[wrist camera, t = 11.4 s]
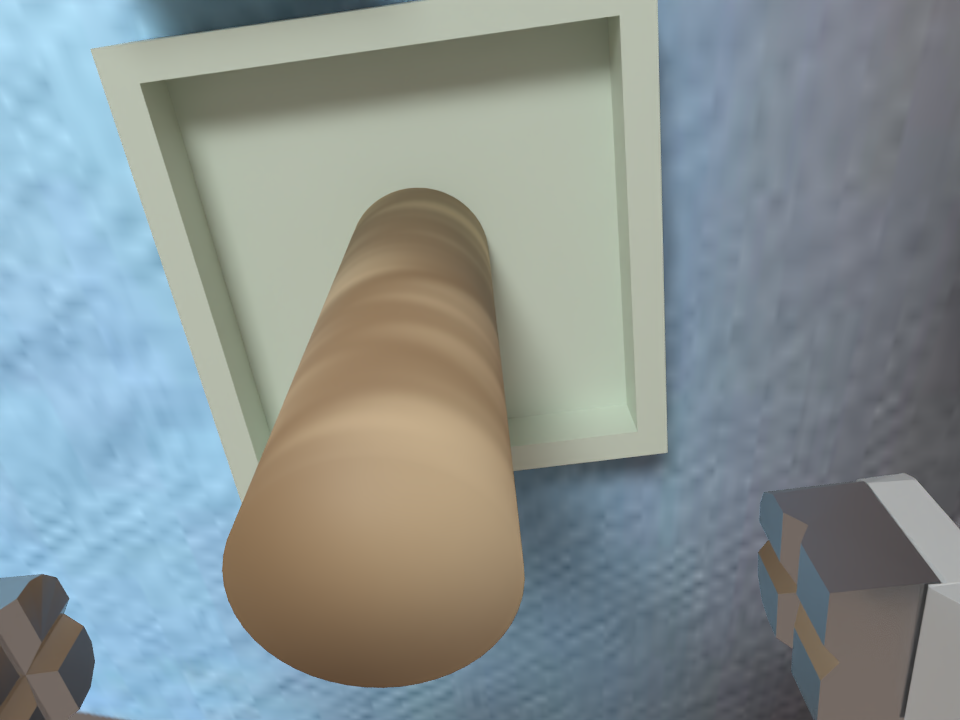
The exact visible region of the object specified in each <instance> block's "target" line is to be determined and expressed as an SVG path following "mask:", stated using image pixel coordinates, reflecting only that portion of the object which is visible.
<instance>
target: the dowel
mask: <svg viewBox="0 0 960 720" xmlns="http://www.w3.org/2000/svg"><path fill="white" fill-rule="evenodd" d="M222 572H223V581H224V587H225V591H226V594H227V598H228V601H229V603H230V605H231V607H232V609H233V612H234V614H235V615H236V617H237V618H238V620H239V621H240V623H241V625H242V626H243V628H244V629H245V630H246V631H247V632H248V633H249V634H250V636H251V637H252V638H253V639H254V640H255V641H256V642H257V643H258V644H260V645H261V646H262V647H263V648H264V649H265V650H266V651H268V652H269V653H270V654H272V655H273V656H275V657H276V658H278V659H279V660H280V661H282V662H284V663H286V664H288V665H289V666H291V667H293V668H295V669H297V670H299V671H302V672H304V673H306V674H309V675H311V676H314V677H317V678H320V679H324V680H327V681H330V682H335V683H340V684H344V685H351V686H359V687H377V688H386V687H401V686H407V685H414V684H419V683H423V682H427V681H431V680H435V679H438V678H440V677H443V676H446V675H449V674H451V673H453V672H455V671H457V670H459V669H461V668H463V667H465V666H467V665H469V664H470V663H472V662H474V661H475V660H477V659H478V658H480V657H481V656H482V655H484V654H485V653H486V652H487V651H488V650H490V649H491V648H492V647H493V646H494V645H495V644H496V643H497V642H498V641H499V640H500V638H501V637H502V636H503V635H504V634H505V632H506V631H507V629H508V628H509V626H510V625H511V624H512V622H513V620H514V618H515V616H516V614H517V611H518V609H519V606H520V603H521V599H522V596H523V589H524V581H525V579H524V562H523V553H522V544H521V535H520V526H519V517H518V509H517V500H516V491H515V482H514V473H513V464H512V455H511V446H510V437H509V428H508V419H507V410H506V401H505V392H504V383H503V374H502V365H501V356H500V347H499V338H498V329H497V321H496V312H495V303H494V294H493V285H492V276H491V267H490V258H489V249H488V243H487V238H486V235H485V232H484V230H483V228H482V226H481V224H480V222H479V221H478V219H477V218H476V216H475V215H474V214H473V212H472V211H471V210H470V209H469V208H468V207H467V206H466V205H464V204H463V203H462V202H461V201H459V200H458V199H456V198H455V197H453V196H451V195H449V194H446V193H444V192H441V191H438V190H434V189H429V188H407V189H402V190H398V191H395V192H392V193H390V194H388V195H386V196H384V197H382V198H380V199H379V200H377V201H376V202H375V203H373V204H372V205H371V206H370V207H369V208H368V209H367V210H366V212H365V213H364V214H363V215H362V217H361V218H360V220H359V222H358V223H357V226H356V228H355V230H354V233H353V235H352V238H351V240H350V242H349V245H348V247H347V250H346V252H345V255H344V257H343V259H342V262H341V264H340V267H339V269H338V272H337V274H336V276H335V279H334V281H333V284H332V286H331V289H330V291H329V293H328V296H327V298H326V301H325V303H324V306H323V308H322V310H321V313H320V315H319V318H318V320H317V323H316V325H315V327H314V330H313V332H312V335H311V337H310V340H309V342H308V344H307V347H306V349H305V352H304V354H303V357H302V359H301V361H300V364H299V366H298V369H297V371H296V374H295V376H294V378H293V381H292V383H291V386H290V388H289V391H288V393H287V395H286V398H285V400H284V403H283V405H282V408H281V410H280V413H279V415H278V417H277V420H276V422H275V425H274V427H273V430H272V432H271V434H270V437H269V439H268V442H267V444H266V447H265V449H264V451H263V454H262V456H261V459H260V461H259V464H258V466H257V468H256V471H255V473H254V476H253V478H252V481H251V483H250V485H249V488H248V490H247V493H246V495H245V498H244V500H243V502H242V505H241V507H240V510H239V512H238V515H237V517H236V519H235V522H234V524H233V527H232V529H231V532H230V534H229V536H228V539H227V542H226V546H225V550H224V554H223V568H222Z"/></svg>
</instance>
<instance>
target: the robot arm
mask: <svg viewBox="0 0 960 720" xmlns="http://www.w3.org/2000/svg"><path fill="white" fill-rule="evenodd" d="M759 521H760V523H761V525H762V527H763V529H764V531H765V533H766V535H767V537H768V539H769V540H768V541H767V542H766V544H765V545H764V546H763V547H762V548H761V549H760V551H759V552H758V578H759V585H760V591H761V597H762V602H763V605H764V608H765V611H766V614H767V618H768V620H769V622H770V625H771V627H772V629H773V632H774V634H775V636H776V638H778V639H779V640H781V641H782V642H783V643H785V644H786V645H788V646H789V647H791V648H792V649H793V652H792V668H791V672H792V674H793V676H794V678H795V680H796V683H797V685H798V687H799V689H800V691H801V693H802V696H803V698H804V700H805V702H806V704H807V706H808V709H809V711H810V713H811V715H812V717H813V719H814V720H960V529H959V528H958V527H957V525H956V524H955V523H954V522H953V521H952V520H951V519H950V518H949V516H948V515H947V514H946V513H945V512H944V511H943V510H942V508H941V507H940V506H939V505H938V504H937V503H936V502H935V501H934V499H933V498H932V497H931V496H930V495H929V494H928V493H927V491H926V490H925V489H924V488H923V487H922V486H921V485H920V483H919V482H918V481H917V480H916V479H915V478H914V477H912V476H910V475H907V474H905V473H901V474H894V475H887V476H879V477H872V478H865V479H858V480H857V481H851V482H843V483H834V484H826V485H818V486H809V487H801V488H793V489H784V490H776V491H768V492H764V493H763V496H762V499H761V502H760V518H759ZM68 601H69V597H68V596H67V594H66V592H65V591H64V589H63V587H62V586H61V584H60V582H59V580H58V579H57V578H56V577H52V576H48V575H44V574H38V575H27V576H16V577H5V578H0V720H68V719H69V718H70V717H71V716H72V715H73V714H75V713H76V712H77V711H78V710H79V709H80V707H81V705H82V703H83V701H84V699H85V697H86V695H87V693H88V691H89V689H90V687H91V682H92V676H93V669H94V663H95V659H94V653H93V647H92V642H91V640H90V638H89V636H88V634H87V632H86V630H85V628H84V626H82V625H81V624H79V623H78V622H76V621H75V620H73V619H71V618H70V617H68V616H67V615H65V614H64V612H65V609H66V606H67V603H68Z"/></svg>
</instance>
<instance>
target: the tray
mask: <svg viewBox="0 0 960 720" xmlns="http://www.w3.org/2000/svg"><path fill="white" fill-rule="evenodd" d="M91 52H92V55H93V58H94V61H95V64H96V67H97V70H98V73H99V76H100V79H101V82H102V85H103V88H104V91H105V94H106V97H107V100H108V103H109V106H110V109H111V112H112V115H113V118H114V121H115V124H116V127H117V130H118V133H119V136H120V139H121V142H122V145H123V148H124V151H125V154H126V157H127V160H128V163H129V166H130V169H131V172H132V175H133V178H134V181H135V184H136V187H137V190H138V193H139V196H140V199H141V202H142V205H143V208H144V211H145V214H146V217H147V220H148V223H149V226H150V229H151V232H152V235H153V238H154V241H155V244H156V247H157V250H158V253H159V256H160V259H161V262H162V265H163V268H164V271H165V274H166V277H167V280H168V283H169V286H170V289H171V292H172V295H173V298H174V301H175V304H176V307H177V310H178V313H179V316H180V319H181V322H182V325H183V328H184V331H185V334H186V337H187V340H188V343H189V346H190V349H191V352H192V355H193V358H194V361H195V364H196V367H197V370H198V373H199V376H200V379H201V382H202V385H203V388H204V391H205V394H206V397H207V400H208V403H209V406H210V409H211V412H212V415H213V418H214V421H215V424H216V427H217V430H218V433H219V436H220V439H221V442H222V445H223V448H224V451H225V454H226V457H227V460H228V463H229V466H230V469H231V472H232V475H233V478H234V481H235V484H236V487H237V490H238V493H239V496H240V499H241V502H243V500H244V498H245V495H246V493H247V490H248V488H249V485H250V483H251V481H252V478H253V476H254V473H255V471H256V468H257V466H258V464H259V461H260V459H261V456H262V454H263V451H264V449H265V447H266V444H267V442H268V439H269V437H270V434H271V432H272V430H273V427H274V425H275V422H276V420H277V417H278V415H279V413H280V410H281V408H282V405H283V403H284V400H285V398H286V395H287V393H288V391H289V388H290V386H291V383H292V381H293V378H294V376H295V374H296V371H297V369H298V366H299V364H300V361H301V359H302V357H303V354H304V352H305V349H306V347H307V344H308V342H309V340H310V337H311V335H312V332H313V330H314V327H315V325H316V323H317V320H318V318H319V315H320V313H321V310H322V308H323V306H324V303H325V301H326V298H327V296H328V293H329V291H330V289H331V286H332V284H333V281H334V279H335V276H336V274H337V272H338V269H339V267H340V264H341V262H342V259H343V257H344V255H345V252H346V250H347V247H348V245H349V242H350V240H351V238H352V235H353V233H354V230H355V228H356V226H357V223H358V222H359V220H360V218H361V217H362V215H363V214H364V213H365V212H366V210H367V209H368V208H369V207H370V206H371V205H372V204H373V203H375V202H376V201H377V200H379V199H380V198H382V197H384V196H386V195H388V194H390V193H392V192H395V191H398V190H402V189H407V188H429V189H434V190H438V191H441V192H444V193H446V194H449V195H451V196H453V197H455V198H456V199H458V200H459V201H461V202H462V203H463V204H464V205H466V206H467V207H468V208H469V209H470V210H471V211H472V212H473V214H474V215H475V216H476V218H477V219H478V221H479V222H480V224H481V226H482V228H483V230H484V232H485V235H486V238H487V243H488V249H489V258H490V267H491V276H492V285H493V294H494V303H495V312H496V321H497V329H498V338H499V347H500V356H501V365H502V374H503V383H504V392H505V401H506V410H507V419H508V428H509V437H510V446H511V455H512V464H513V471H518V470H527V469H535V468H543V467H552V466H560V465H569V464H577V463H585V462H594V461H602V460H610V459H619V458H627V457H636V456H644V455H652V454H661V453H668V452H667V408H666V363H665V318H664V274H663V229H662V185H661V140H660V95H659V51H658V6H657V0H418V1H411V2H404V3H397V4H390V5H383V6H376V7H369V8H362V9H355V10H348V11H341V12H334V13H327V14H321V15H314V16H307V17H300V18H293V19H286V20H279V21H272V22H265V23H258V24H251V25H244V26H237V27H230V28H223V29H216V30H210V31H203V32H196V33H189V34H182V35H175V36H168V37H161V38H154V39H147V40H140V41H133V42H127V43H122V44H116V45H111V46H105V47H99V48H94V49H91Z"/></svg>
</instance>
